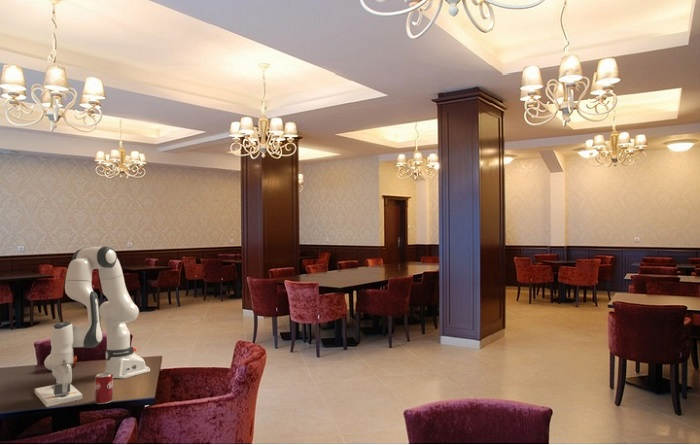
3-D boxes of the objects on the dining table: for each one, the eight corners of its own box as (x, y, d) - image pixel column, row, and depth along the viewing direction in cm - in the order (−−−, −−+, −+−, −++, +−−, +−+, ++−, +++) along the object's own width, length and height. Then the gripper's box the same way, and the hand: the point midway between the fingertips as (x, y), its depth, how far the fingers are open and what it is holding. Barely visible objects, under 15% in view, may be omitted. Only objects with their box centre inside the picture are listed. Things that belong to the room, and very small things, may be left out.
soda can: (93, 405, 206) (94, 378, 206) (95, 400, 213) (95, 373, 213) (112, 403, 209) (112, 375, 209) (113, 397, 216) (113, 371, 216)
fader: (68, 391, 217) (68, 381, 217) (70, 393, 214) (70, 383, 214) (53, 394, 213) (53, 383, 213) (55, 397, 210) (55, 386, 210)
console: (68, 386, 233) (68, 381, 233) (82, 398, 214) (82, 394, 215) (34, 392, 223) (34, 388, 223) (46, 407, 205) (46, 402, 205)
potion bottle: (42, 374, 257) (73, 372, 266) (45, 366, 251) (77, 364, 261) (42, 358, 262) (73, 356, 271) (46, 350, 256) (77, 349, 266)
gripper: (76, 362, 209) (75, 393, 208) (64, 353, 223) (64, 382, 223) (59, 364, 204) (59, 397, 204) (48, 355, 219) (48, 385, 219)
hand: (61, 389), depth 214 cm, fingers open, 8 cm apart
